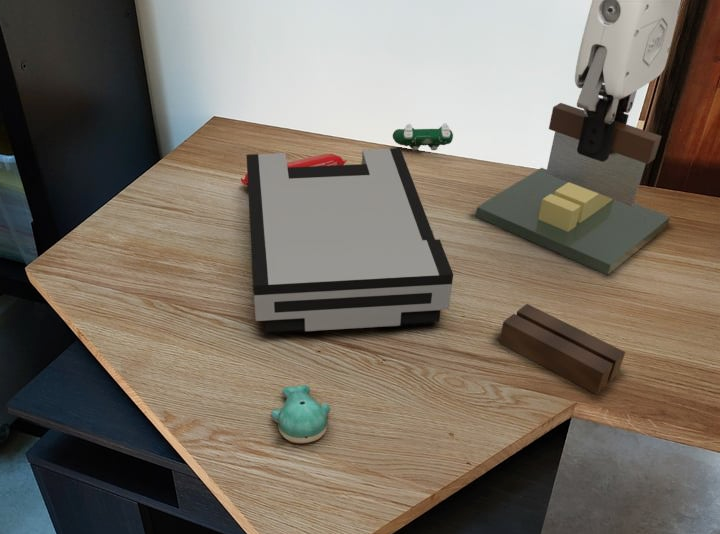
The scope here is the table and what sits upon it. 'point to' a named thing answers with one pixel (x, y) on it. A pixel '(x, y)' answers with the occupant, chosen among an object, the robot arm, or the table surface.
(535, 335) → the block
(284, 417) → the whale figurine
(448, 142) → the gaming controller
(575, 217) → the butter pat
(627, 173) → the bench scraper
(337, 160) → the candy bar
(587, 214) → the butter stick
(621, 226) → the cutting board
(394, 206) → the game console
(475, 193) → the table surface
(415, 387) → the table surface
